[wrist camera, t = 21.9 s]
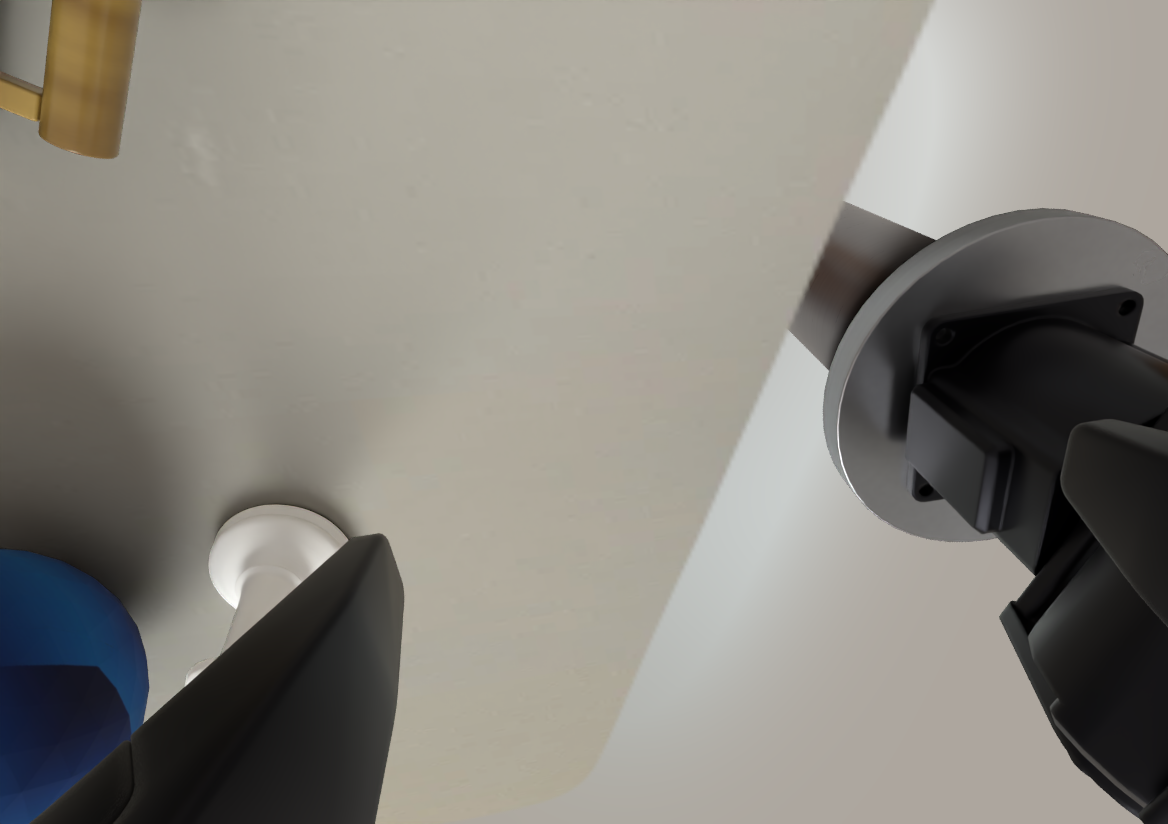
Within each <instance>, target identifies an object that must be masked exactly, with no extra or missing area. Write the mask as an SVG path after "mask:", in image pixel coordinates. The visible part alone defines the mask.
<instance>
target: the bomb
mask: <svg viewBox="0 0 1168 824" xmlns="http://www.w3.org/2000/svg"><path fill="white" fill-rule="evenodd" d="M148 692H149V679H148V668H147V659H146V654H145V649H144V646H143V643H142V640H141V636H140V633H139V630H138V627H137V625H136V624H135V622H134V621H133V619H132V618H131V616H130V615H129V613H128V612H127V610H126V609H125V607H124V606H123V604H122V603H121V601H120V600H119V599H118V598H117V597H116V596H115V595H114V594H112V593H111V592H110V591H109V590H108V589H106V588H105V587H104V586H103V585H102V584H101V583H99V582H98V581H97V580H96V579H95V578H93V577H92V576H90V575H88V574H86V573H84V572H82V571H81V570H79V569H77V568H75V567H73V566H71V565H69V564H68V563H66V562H64V561H61V560H58V559H54V558H51V557H47V556H43V555H40V554H36V553H33V552H29V551H23V550H14V549H5V548H0V824H29V823H30V822H31V821H33V820H34V819H35V818H36V817H38V816H39V815H40V814H41V813H42V812H43V811H45V810H46V809H47V808H48V807H49V806H50V805H52V804H53V803H54V802H55V801H56V800H57V799H58V798H60V797H61V796H62V795H63V794H64V793H65V792H67V791H68V790H69V789H70V788H71V787H72V786H73V785H75V784H76V783H77V782H78V781H79V780H80V779H82V778H83V777H84V776H85V775H86V774H87V773H89V772H90V771H91V770H92V769H93V768H94V767H95V766H96V765H98V764H99V763H100V762H101V761H102V760H103V759H104V758H105V757H107V756H108V755H109V754H110V753H111V752H112V751H113V750H114V749H115V748H117V747H118V746H119V745H120V744H121V743H122V742H123V741H126V740H129V741H131V740H130V738H131V735H132V734H133V733H134V732H135V731H136V730H137V729H138V728H139V727H140V726H141V725H143V721H144V715H145V709H146V704H147V698H148Z"/></svg>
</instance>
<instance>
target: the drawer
mask: <svg viewBox="0 0 1168 824" xmlns="http://www.w3.org/2000/svg"><path fill="white" fill-rule="evenodd" d="M141 4H142V0H52V8H51V17H50V27H49V36H48V46H47V56H46V65H45V75H44V84H43V88H40V87H38V86H35V85H33V84H30V83H28V82H26V81H23V80H21V79H18V78H16V77H13V76H11V75H9V74H6V73H4V72H1V71H0V108H2V109H5V110H7V111H10V112H12V113H15V114H17V115H20V116H22V117H25V118H27V119H30V120H32V121H40V123H39V135H40V137H41V138H42V139H44V140H45V141H47V142H48V143H50V144H52V145H54V146H56V147H59V148H61V149H64V150H67V151H70V152H73V153H76V154H80V155H84V156H88V157H94V158H102V159H112V158H116V157H117V156H118V155H119V149H120V142H121V136H122V129H123V122H124V116H125V109H126V103H127V96H128V89H129V83H130V76H131V70H132V63H133V57H134V50H135V43H136V37H137V30H138V24H139V17H140V11H141Z"/></svg>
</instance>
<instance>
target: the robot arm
mask: <svg viewBox="0 0 1168 824" xmlns="http://www.w3.org/2000/svg"><path fill="white" fill-rule="evenodd" d="M1124 301H1125V304H1124V306H1123V307H1122V308H1121V309H1120V310H1118V309H1119V307H1120V305H1121V304H1122V303H1123V302H1124ZM1143 306H1144V298H1143V296H1142V294H1140V293H1138V292H1136V291H1133V290H1131V289H1128V288H1115V289H1109V290H1102V291H1096V292H1089V293H1083V294H1076V295H1070V296H1063V297H1057V298H1051V299H1044V300H1038V301H1031V302H1025V303H1018V304H1012V305H1005V306H999V307H993V308H986V309H980V310H973V311H967V312H960V313H954V314H947V315H941V316H937V317H934V318H932V319H930V320H929V321H928V322H927V323H926V324H925V325H924V327H923V328H922V332H921V337H920V348H919V358H918V368H917V379H916V386H915V387H914V389H913V390H912V392H911V397H910V407H909V418H908V429H907V439H906V450H905V458H906V460H907V461H908V471H907V482H906V488H907V491H908V492H909V494H910V495H911V496H912V497H913V498H914V499H915V500H916V501H919V502H930V501H936V500H942V499H945V500H946V501H947V502H948V503H949V504H950V505H951V506H952V507H953V508H954V509H955V510H956V511H957V512H958V513H959V514H960V516H961V517H962V518H963V519H964V520H965V521H966V522H967V523H968V524H969V525H970V526H971V527H972V528H973V529H975V530H976V531H977V532H979V533H980V534H988V533H993V534H994V535H995V536H996V537H997V538H998V539H999V540H1000V541H1001V542H1002V543H1003V544H1004V545H1005V546H1006V547H1007V548H1008V549H1009V550H1010V551H1011V552H1012V553H1013V554H1014V555H1015V556H1016V557H1017V558H1018V559H1019V560H1020V561H1021V562H1022V563H1023V564H1024V565H1025V566H1026V567H1027V568H1028V569H1029V570H1030V571H1031V572H1032V573H1033V574H1034V575H1035V576H1036V577H1035V578H1034V579H1033V580H1032V582H1031V583H1030V584H1029V586H1028V587H1027V588H1026V590H1025V591H1024V592H1023V593H1022V595H1021V596H1020V597H1019V598H1018V600H1017V601H1011V602H1010V603H1009V604H1008V606H1007V607H1006V608H1005V610H1004V611H1003V612H1002V613H1001V615H1000V616H999V617H1000V620H1001V622H1002V624H1003V626H1004V628H1005V630H1006V633H1007V635H1008V637H1009V639H1010V641H1011V643H1012V645H1013V647H1014V649H1015V651H1016V653H1017V655H1018V657H1019V659H1020V661H1021V663H1022V666H1023V668H1024V670H1025V672H1026V674H1027V676H1028V678H1029V680H1030V681H1031V684H1032V686H1033V688H1034V690H1035V692H1036V694H1037V696H1038V699H1039V700H1040V703H1041V704H1042V707H1043V709H1044V711H1045V713H1046V715H1047V717H1048V719H1049V721H1050V723H1051V725H1052V727H1053V729H1054V731H1055V733H1056V734H1057V736H1058V738H1059V739H1060V741H1061V743H1062V744H1063V746H1064V747H1065V749H1066V750H1067V752H1068V754H1069V756H1070V758H1071V760H1072V761H1073V763H1074V764H1075V765H1076V766H1077V767H1078V768H1079V769H1080V770H1081V771H1082V772H1084V773H1085V774H1086V775H1088V776H1089V777H1091V778H1092V779H1093V780H1094V781H1095V782H1096V784H1097V785H1098V786H1100V787H1101V788H1102V789H1103V790H1104V791H1105V792H1106V793H1108V794H1109V795H1110V796H1111V797H1112V798H1113V799H1115V800H1116V801H1117V802H1118V803H1119V804H1120V805H1121V806H1123V807H1124V808H1125V809H1127V810H1128V811H1129V812H1131V813H1132V814H1133V815H1135V816H1136V817H1138V818H1139V819H1140V820H1141V821H1142V822H1143V823H1144V824H1168V360H1167V359H1165V358H1163V357H1161V356H1158V355H1156V354H1154V353H1152V352H1150V351H1148V350H1145V349H1143V348H1141V347H1139V346H1137V345H1134V342H1135V338H1136V334H1137V330H1138V326H1139V322H1140V318H1141V314H1142V310H1143ZM944 328H945V329H946V331H945V333H944V335H943V336H942V337H941V338H939V339H936V335H937V333H938V332H939V331H940V330H941V329H944ZM927 483H928V484H927ZM924 484H927V486H926V487H925V488H923V489H920V488H921V487H922V486H923V485H924ZM403 611H404V588H403V583H402V580H401V577H400V574H399V571H398V568H397V565H396V562H395V559H394V556H393V553H392V550H391V547H390V544H389V541H388V540H387V538H386V537H385V536H384V535H383V534H372V535H366V536H359V537H354V538H352V539H350V540H349V541H348V542H346V543H345V544H344V545H343V546H342V547H341V548H340V549H339V550H337V551H336V552H335V553H334V554H333V555H332V556H331V557H330V558H328V559H327V560H326V561H325V562H324V563H323V564H322V565H321V566H320V567H318V568H317V569H316V570H315V571H314V572H313V573H312V574H311V575H309V576H308V577H307V578H306V579H305V580H304V581H303V582H302V583H300V584H299V585H298V586H297V587H296V588H295V589H294V590H293V591H292V592H290V593H289V594H288V595H287V596H286V597H285V598H284V599H283V600H281V601H280V602H279V603H278V604H277V605H276V606H275V607H274V608H273V609H271V610H270V611H269V612H268V613H267V614H266V615H265V616H264V617H262V618H261V619H260V620H259V621H258V622H257V623H256V624H255V625H253V626H252V627H251V628H250V629H249V630H248V631H247V632H246V633H245V634H243V635H242V636H241V637H240V638H239V639H238V640H237V641H236V642H234V643H233V644H232V645H231V646H230V647H229V648H228V649H227V650H225V651H224V652H223V653H222V654H221V655H220V656H219V657H218V658H217V659H215V660H214V661H213V662H212V663H211V664H210V665H209V666H208V667H206V668H205V669H204V670H203V671H202V672H201V673H200V674H199V675H197V676H196V677H195V678H194V679H193V680H192V681H191V682H190V683H188V684H187V685H186V686H185V687H184V688H183V689H182V690H181V691H180V692H178V693H177V694H176V695H175V696H174V697H173V698H172V699H171V700H169V701H168V702H167V703H166V704H165V705H164V706H163V707H162V708H160V709H159V710H158V711H157V712H156V713H155V714H154V715H153V716H151V717H150V718H149V719H148V720H147V721H146V722H145V723H144V724H143V725H141V726H140V727H139V728H138V729H137V730H136V731H135V732H134V733H133V734H132V735H131V738H130V740H131V741H129V740H126V741H123V742H122V743H121V744H120V745H119V746H118V747H117V748H115V749H114V750H113V751H112V752H111V753H110V754H109V755H108V756H107V757H105V758H104V759H103V760H102V761H101V762H100V763H99V764H98V765H96V766H95V767H94V768H93V769H92V770H91V771H90V772H89V773H87V774H86V775H85V776H84V777H83V778H82V779H80V780H79V781H78V782H77V783H76V784H75V785H73V786H72V787H71V788H70V789H69V790H68V791H67V792H65V793H64V794H63V795H62V796H61V797H60V798H58V799H57V800H56V801H55V802H54V803H53V804H52V805H50V806H49V807H48V808H47V809H46V810H45V811H43V812H42V813H41V814H40V815H39V816H38V817H36V818H35V819H34V820H33V821H31V822H30V823H29V824H375V820H376V815H377V810H378V804H379V799H380V794H381V788H382V783H383V778H384V773H385V767H386V762H387V757H388V752H389V746H390V741H391V736H392V731H393V725H394V719H395V713H396V706H397V695H398V682H399V668H400V654H401V640H402V625H403Z"/></svg>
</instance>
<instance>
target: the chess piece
mask: <svg viewBox="0 0 1168 824" xmlns="http://www.w3.org/2000/svg"><path fill="white" fill-rule="evenodd" d="M346 542H348V539H347V538H346V536H345V535H344V534H343V533H342V532H341V530H340V529H339V528H337V527H336V526H335V525H334V524H333V523H331V522H330V521H329V520H327V519H326V518H324V517H322V516H320V515H318V514H316V513H314V512H312V511H309V510H306V509H303V508H299V507H295V506H289V505H277V504H273V505H262V506H257V507H253V508H249V509H247V510H244V511H242V512H240V513H238V514H236V515H234V516H233V517H232V518H230V519H229V520H228V521H227V522H226V523H225V524H224V525H223V526H222V527H221V529H220V530H219V532H218V533H217V535H216V537H215V540H214V544H213V545H212V548H211V550H210V554H209V560H208V568H209V574H210V577H211V580H212V582H213V584H214V586H215V588H216V590H217V591H218V592H219V594H220V595H221V596H222V597H223V598H224V599H225V600H226V601H227V602H228V603H229V604H230V605H231V606H232V607H234V608H235V609H236V612H235V615H234V618H233V621H232V624H231V627H230V630H229V633H228V635H227V638H226V641H225V644H224V646H223V649H222V651H221V654H222V653H223V652H224V651H225V650H227V649H228V648H229V647H230V646H231V645H232V644H233V643H234V642H236V641H237V640H238V639H239V638H240V637H241V636H242V635H243V634H245V633H246V632H247V631H248V630H249V629H250V628H251V627H252V626H253V625H255V624H256V623H257V622H258V621H259V620H260V619H261V618H262V617H264V616H265V615H266V614H267V613H268V612H269V611H270V610H271V609H273V608H274V607H275V606H276V605H277V604H278V603H279V602H280V601H281V600H283V599H284V598H285V597H286V596H287V595H288V594H289V593H290V592H292V591H293V590H294V589H295V588H296V587H297V586H298V585H299V584H300V583H302V582H303V581H304V580H305V579H306V578H307V577H308V576H309V575H311V574H312V573H313V572H314V571H315V570H316V569H317V568H318V567H320V566H321V565H322V564H323V563H324V562H325V561H326V560H327V559H328V558H330V557H331V556H332V555H333V554H334V553H335V552H336V551H337V550H339V549H340V548H341V547H342V546H343V545H344V544H345V543H346ZM221 654H220V655H221ZM215 659H217V658H210V659H206V660H203V661H200V662H199V663H197V664H195V665H194V666H193V667H192V668H191V669H190V670H189V671H188V673H187V676H186V682H185V686H186V685H187V684H188V683H190V682H191V681H192V680H193V679H194V678H195V677H196V676H197V675H199V674H200V673H201V672H202V671H203V670H204V669H205V668H206V667H208V666H209V665H210V664H211V663H212V662H213V661H214V660H215Z"/></svg>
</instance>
